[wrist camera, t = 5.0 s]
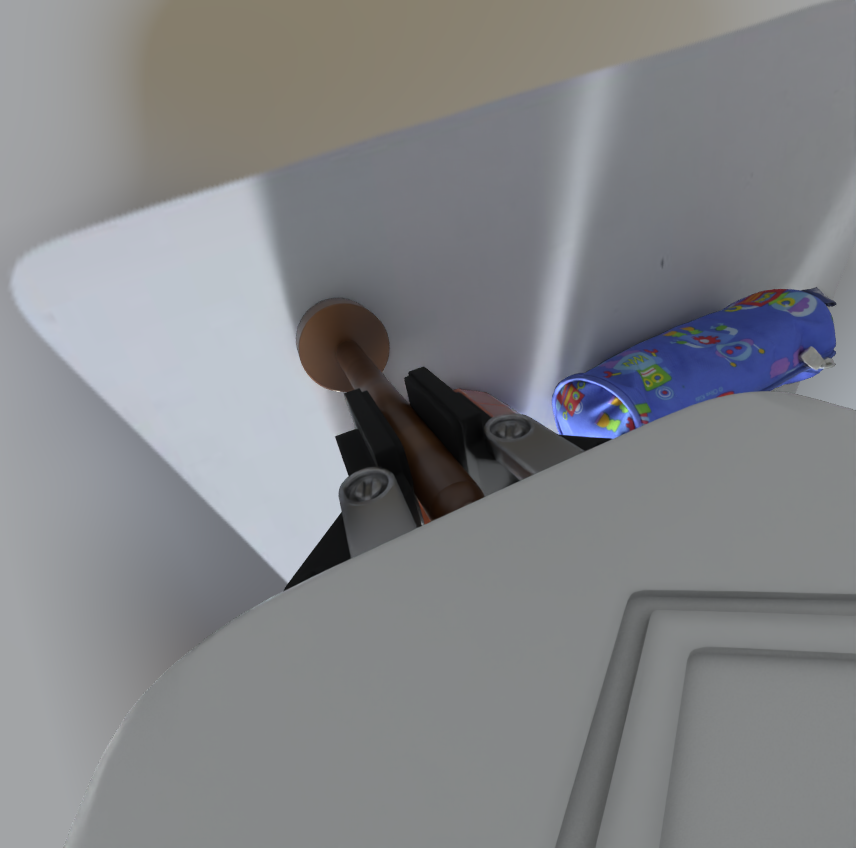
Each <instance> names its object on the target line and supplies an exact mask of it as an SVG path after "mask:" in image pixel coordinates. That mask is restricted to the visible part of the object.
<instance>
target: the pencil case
mask: <svg viewBox="0 0 856 848" xmlns="http://www.w3.org/2000/svg"><path fill="white" fill-rule="evenodd" d="M825 304H826V305H825ZM835 305H836V302H834V301H833V300H831V299H829V298H828V297H826V296H825V295H824V294H823V293H822V292H821V291H820V290H819V289H818V288H817V287H816V288H812V289H807V290H801V291H800V290H792V289H773V290H766V291H762V292H758V293H755V294H752V295H750V296H748V297H745V298H743V299H740V300H738V301H736V302H734V303H733V304H731V305H729V306H727V307H726V308H724V309H723V310H721V311H718V312H715V313H711V314H708V315H706V316H703V317H700V318H698V319H696V320H693V321H691V322H688V323H685V324H682V325H679V326H676V327H674V328H672V329H670V330H668V331H666V332H664V333H662V334H660V335H658V336H655V337H653V338H650V339H648V340H646V341H643V342H641V343H639V344H636V345H635V346H633V347H631V348H629V349H627V350H625V351H623V352H621V353H619V354H617V355H616V356H614V357H612V358H610V359H608V360H606V361H604V362H603V363H601V364H600V365H598V366H596V367H594V368H593V369H591V370H589V371H587V372H586V373H578V374H573V375H571V376H568V377H566V378H565V379H563V380H562V381H561V382H559V383H558V385H557V386H556V388H555V391H554V394H553V396H552V405H553V412H554V415H555V421H556V426H557V429H558V432H559V434H560V435H570V436H584V437H597V438H610V439H614V438H616V437H619V436H621V435H623V434H625V433H628V432H630V431H632V430H634V429H636V428H639V427H641V426H643V425H645V424H648V423H650V422H652V421H654V420H657V419H659V418H662V417H664V416H667V415H669V414H671V413H674V412H676V411H679V410H681V409H684V408H686V407H689V406H691V405H694V404H697V403H700V402H703V401H706V400H709V399H713V398H718V397H722V396H727V395H732V394H738V393H746V392H760V391H771V390H773V389H774V388H777V387H779V386H782V385H784V384H790V383H795V382H798V381H802V380H805V379H808V378H811V377H813V376H815V375H816V374H818V373H820V371H822V370H823V369H827V368H831V367H833V366H835V365H836V364H835V363H834V362H833V359H832V357H833V356H835V354H836V351H834V350H833V349H834V347H835V346H836V338H835V330H834V324H833V318H832V315H831V313H830V311H829V310H828V308H827V306H828V307H830V306H835Z"/></svg>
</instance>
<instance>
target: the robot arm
mask: <svg viewBox="0 0 856 848" xmlns="http://www.w3.org/2000/svg"><path fill="white" fill-rule="evenodd" d="M408 374H409V376H407V377H405V378H404V379H405V385H406V389H407V393H408V397H409V402H410V406H411V407H412V408H413V410H414V411H415V412H416V413H417V414H418V415H419V417H420V418H421V419H422V420H423V421H424V422H425V424H426V425H427V426H428V427H429V428H430V429H431V431H432V432H433V433H434V434H435V435H436V436H437V438H438V439H439V440H440V441H441V442H442V444H443V445H444V446H445V447H446V448H447V449H448V451H449V452H450V453H451V454H452V455H453V456H454V458H455V459H456V460H457V461H458V462H459V463H460V465H461V466H462V467H463V468H464V469H465V470H466V472H467V473H468V474H469V475H470V476H471V477H472V479H473V480H474V481H475V482H476V483H477V485H478V486H479V487H480V488H481V490H482V492H483V493H484V496H485V497H484V498H482V499H479V500H477V501H475V502H473V503H471V504H469V505H466V506H464V507H462V508H460V509H458V510H455V511H453V512H451V513H449V514H447V515H445V516H442V517H440V518H438V519H436V520H434V521H431V522H429V523H427V524H424V520H423V516H422V512H421V509H420V505H419V501H418V499H417V497H416V495H415V493H414V489H413V485H414V483H413V479H412V475H411V472H410V468H409V464H408V461H407V457H406V453H405V450H404V448H403V445H402V443H401V441H400V439H399V438H398V436H397V435H396V433H395V431H394V430H393V428H392V427H391V425H390V424H389V422H388V421H387V419H386V418H385V416H384V415H383V413H382V412H381V410H380V409H379V407H378V406H377V404H376V403H375V401H374V400H373V398H372V397H371V395H370V394H369V392H368V391H367V390H366V391H363V392H362V391H361V390H360V388H358V389H355V390H352V391H349V392H346V393H344V396H345V399H346V402H347V405H348V408H349V411H350V413H351V416H352V419H353V422H354V425H355V428H356V429H354V430H352V431H349V432H346V433H344V434H341V435H338V436H335V438H336V441H337V443H338V446H339V449H340V452H341V455H342V458H343V461H344V464H345V467H346V469H347V472H348V475H349V477H347V478H346V479H345V481H344V482H343V483H342V484H341V486H340V489H339V500H340V505H341V510H342V512H341V514H340V515H339V516H338V518H337V519H336V520H335V522H334V523H333V524H332V526H331V527H330V528H329V530H328V531H327V532H326V534H325V535H324V536H323V538H322V539H321V540H320V542H319V543H318V544H317V546H316V547H315V548H314V550H313V551H312V552H311V554H310V555H309V556H308V558H307V559H306V560H305V562H304V563H303V564H302V566H301V567H300V568H299V570H298V571H297V572H296V574H295V575H294V576H293V578H292V579H291V580H290V582H289V583H288V584H287V586H286V587H285V589H284V591H283V592H281V593H279V594H277V595H275V596H273V597H271V598H269V599H267V600H265V601H264V602H262V603H260V604H259V605H257V606H255V607H253V608H252V609H250V610H248V611H246V612H244V613H243V614H241V615H239V616H238V617H236V618H235V619H233V620H232V621H230V622H229V623H227V624H226V625H224V626H223V627H221V628H220V629H219V630H217V631H215V632H214V633H213V634H211V635H210V636H208V637H207V638H206V639H204V640H203V641H202V642H201V643H199V644H198V645H197V646H196V647H194V648H193V649H192V650H191V651H190V652H188V653H187V654H186V655H185V656H183V657H182V658H181V659H180V660H179V661H177V662H176V663H175V664H174V665H173V666H171V667H170V668H169V669H168V670H167V671H166V672H165V673H164V674H163V675H162V676H161V677H160V678H159V679H157V681H156V682H155V683H154V684H153V685H152V686H151V687H150V688H149V689H148V690H147V691H146V692H145V693H144V694H143V695H142V696H141V697H140V699H139V700H138V701H137V702H136V704H135V705H134V706H133V708H132V709H131V710H130V711H129V712H128V714H127V715H126V717H125V718H124V720H123V722H122V723H121V725H120V726H119V728H118V729H117V731H116V732H115V734H114V735H113V737H112V739H111V741H110V742H109V744H108V746H107V748H106V750H105V752H104V753H103V755H102V757H101V759H100V762H99V763H98V766H97V768H96V770H95V772H94V774H93V776H92V778H91V780H90V783H89V785H88V788H87V790H86V792H85V795H84V797H83V800H82V802H81V804H80V807H79V809H78V812H77V814H76V816H75V819H74V821H73V824H72V826H71V829H70V831H69V834H68V837H67V839H66V842H65V845H64V847H63V848H856V410H853V409H850V408H846V407H842V406H839V405H835V404H831V403H828V402H825V401H821V400H817V399H813V398H810V397H806V396H802V395H798V394H793V393H788V392H780V391H760V392H746V393H738V394H732V395H727V396H722V397H718V398H713V399H709V400H706V401H703V402H700V403H697V404H694V405H691V406H689V407H686V408H684V409H681V410H679V411H676V412H674V413H671V414H669V415H667V416H664V417H662V418H659V419H657V420H654V421H652V422H650V423H648V424H645V425H643V426H641V427H639V428H636V429H634V430H632V431H630V432H628V433H625V434H623V435H621V436H619V437H616V438H614V439H610V438H597V437H584V436H570V435H558V434H556V433H555V432H553V431H552V430H550V429H548V428H547V427H545V426H543V425H542V424H540V423H539V422H537V421H535V420H534V419H532V418H530V417H528V416H526V415H523V414H518V413H507V414H501V415H498V416H495V417H493V418H492V417H491V416H489V415H488V414H487V413H486V412H484V411H483V410H482V409H481V408H479V407H478V406H477V405H476V404H474V403H473V402H472V401H471V400H469V399H468V398H467V397H466V396H464V395H463V394H462V393H460V392H455V391H453V390H452V389H451V388H450V387H449V386H447V385H446V384H445V383H444V382H443V381H441V380H440V379H439V378H438V377H436V376H435V375H434V374H433V373H432V372H430V371H429V370H428V369H427V368H425V367H421V368H418V369H415V370H412V371H409V373H408Z"/></svg>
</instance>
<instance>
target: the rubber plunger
mask: <svg viewBox="0 0 856 848" xmlns="http://www.w3.org/2000/svg"><path fill="white" fill-rule="evenodd" d="M296 345H297V350H298V353H299V357H300V360H301V363H302V366H303V368H304V370H305V371H306V373H307V374H308V375H309V376H310V378H311V379H312V380H314V381H315V382H316V383H317V384H319V385H320V386H322V387H324V388H326V389H329V390H332V391H337V392H349V391H352V390H355V389H358V388H360V390H361V391H362V392H363V391H366V390H367V391H368V392H369V394H370V395H371V397H372V398H373V400H374V401H375V403H376V404H377V406H378V407H379V409H380V410H381V412H382V413H383V415H384V416H385V418H386V419H387V421H388V422H389V424H390V425H391V427H392V428H393V430H394V431H395V433H396V435H397V436H398V438H399V439H400V441H401V443H402V445H403V448H404V450H405V453H406V457H407V461H408V464H409V468H410V472H411V475H412V479H413V483H414V485H413V489H414V493H415V495H416V497H417V499H418V501H419V502H420V504H421V506H422V507H423V509H424V511H425V513H426V514H427V516H428V518H429V520H430V521H434V520H436V519H438V518H440V517H442V516H445V515H447V514H449V513H451V512H453V511H455V510H458V509H460V508H462V507H464V506H466V505H469V504H471V503H473V502H475V501H477V500H479V499H482V498H484V497H485V496H484V493H483V492H482V490H481V488H480V487H479V486H478V485H477V483H476V482H475V481H474V480H473V479H472V477H471V476H470V475H469V474H468V473H467V472H466V470H465V469H464V468H463V467H462V466H461V465H460V463H459V462H458V461H457V460H456V459H455V458H454V456H453V455H452V454H451V453H450V452H449V451H448V449H447V448H446V447H445V446H444V445H443V444H442V442H441V441H440V440H439V439H438V438H437V436H436V435H435V434H434V433H433V432H432V431H431V429H430V428H429V427H428V426H427V425H426V424H425V422H424V421H423V420H422V419H421V418H420V417H419V415H418V414H417V413H416V412H415V411H414V410H413V408H412V407H411V406H410V405H409V404H408V402H407V401H406V400H405V399H404V398H403V397H402V395H401V394H400V393H399V392H398V391H397V390H396V388H395V387H394V386H393V385H392V384H391V383H390V381H389V380H388V379H387V378H386V377H385V376H384V374H383V373H382V371H383V370H384V368H385V366H386V364H387V361H388V357H389V349H390V348H389V339H388V335H387V332H386V330H385V327H384V326H383V324H382V323H381V321H380V320H379V319H378V318H377V317H376V316H375V315H374V314H373V313H372V312H370V311H369V310H368V309H366V308H365V307H363V306H362V305H360V304H359V303H357V302H355V301H352V300H349V299H344V298H331V299H326V300H324V301H321V302H319V303H317V304H315V305H314V306H312V307H311V308H310V309H309V310H308V311H307V312H306V313H305V314H304V315H303V317H302V319H301V320H300V323H299V325H298V328H297V333H296Z"/></svg>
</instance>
